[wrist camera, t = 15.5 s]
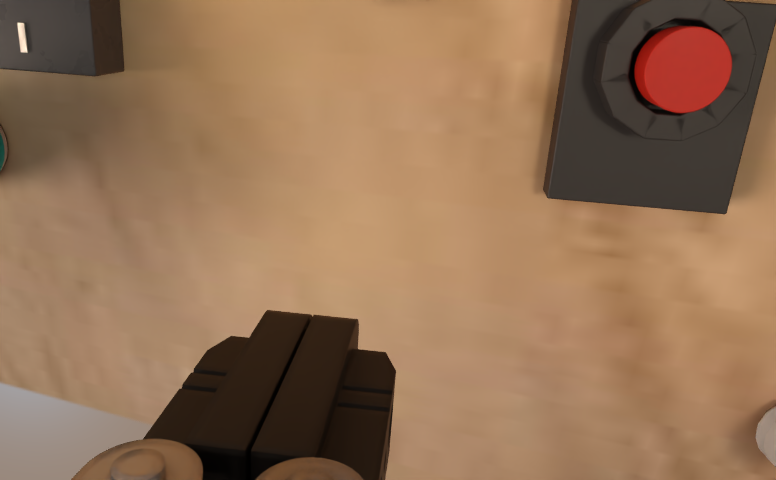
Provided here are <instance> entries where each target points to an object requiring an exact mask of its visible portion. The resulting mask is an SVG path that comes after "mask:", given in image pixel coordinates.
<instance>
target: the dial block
mask: <svg viewBox="0 0 776 480" xmlns="http://www.w3.org/2000/svg"><path fill="white" fill-rule="evenodd" d="M0 69H11V70H24V71H36V72H48V73H61V74H73V75H85V76H100V75H105V74H111V73H116V72H122V71H124V61H123V47H122V32H121V18H120V4H119V0H0Z"/></svg>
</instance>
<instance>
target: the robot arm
mask: <svg viewBox="0 0 776 480" xmlns="http://www.w3.org/2000/svg"><path fill="white" fill-rule="evenodd" d="M358 334H359V323H358V319H349V318H340V317H330V316H321V315H314V316H313V317H312V315H310V314H300V313H290V312H281V311H271V310H267V311H266V312H265V314H264V315H263V317H262V318H261V320H260V322H259V323H258V325H257V326H256V328H255V330H254V331H253V333H252V334H251V336H250V338H245V337H236V336H230V337H229V338H227V339H226V340H224V341H222V342H221V343H219V344H217V345H216V346H214V347H212V348H211V349H209V350H207V352H206V353H205V354H204V356H203V357H202V359H201V360H200V361H199V363H198V364H197V365H196V367H195V368H194V372H193V373H191V374H190V375H189V376H188V378H187V379H186V381H185V382H184V383H183V386H182V389H179V390H178V392H177V393H176V394H175V396H174V397H173V398H172V400H171V401H170V403H169V404H168V405H167V407H166V408H165V410H164V411H163V412H162V414H161V415H160V416H159V418H158V419H157V421H156V422H155V423H154V425H153V426H152V427H151V429H150V430H149V432H148V433H147V434H146V436H145V437H144V439H143V440H136V441H132V442H127V443H124V444H121V445H118V446H115V447H113V448H110V449H108V450H106V451H104V452H102V453H100V454H99V455H97V456H96V457H94V458H93V459H92V460H90V461H89V462H88V463H87V464H86V465H85V466H84V467H83V468H82V469H81V470H80V471H79V472H78V473H77V474H76V475H75V476H74V477H73V478H72V479H71V480H385V476H386V470H387V463H388V456H389V448H390V436H391V424H392V412H393V399H394V387H395V375H396V370H395V368H394V367H393V365H392V363H391V361H390V359H389V358H388V356H387V354H386V352H378V351H368V350H359V349H358Z"/></svg>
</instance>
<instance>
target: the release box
mask: <svg viewBox="0 0 776 480" xmlns="http://www.w3.org/2000/svg"><path fill="white" fill-rule="evenodd" d="M775 23H776V4H765V3H750V2H735V1H726V0H572V5H571V11H570V18H569V24H568V31H567V37H566V44H565V50H564V57H563V63H562V70H561V76H560V83H559V89H558V96H557V102H556V109H555V115H554V122H553V128H552V135H551V141H550V148H549V154H548V160H547V167H546V173H545V180H544V186H543V190H544V192H545V194H546V196H547V198H550V199H562V200H573V201H584V202H595V203H606V204H617V205H628V206H640V207H651V208H662V209H673V210H684V211H695V212H706V213H718V214H726V213H727V209H728V205H729V201H730V197H731V194H732V190H733V186H734V182H735V178H736V174H737V170H738V166H739V163H740V159H741V155H742V151H743V147H744V143H745V139H746V135H747V131H748V128H749V124H750V120H751V116H752V112H753V108H754V104H755V100H756V96H757V93H758V89H759V85H760V81H761V77H762V73H763V69H764V65H765V62H766V58H767V54H768V50H769V46H770V42H771V38H772V34H773V30H774V27H775ZM673 26H696V27H704V28H707V29H710V30H712V31H714V32H715V33H717V34H718V35H720V36H721V37H722V38H723V40H724V41H725V42H726V44H727V45H728V47H729V50H730V52H731V57H732V71H731V75H730V79H729V81H728V83H727V85H726V87H725V89H724V90H723V92H722V93H721V94H720V95H719V97H718V98H717V99H716V100H714V101H713V102H712V103H711V104H709V105H708V106H706V107H704V108H702V109H700V110H697V111H694V112H689V113H675V112H671V111H667V110H665V109H663V108H661V107H658V106H656V105H654V104H652V103H650V102H649V101H647V100H646V99H645V98H644V97H643V96H642V95H641V93H640V92H639V90H638V88H637V86H636V82H635V77H634V68H635V62H636V59H637V56H638V54H639V52H640V50H641V48H642V47H643V46H644V44H645V43H646V42H647V41H648V40H649V39H650V38H651V37H652V36H653V35H655V34H656V33H658V32H660V31H662V30H664V29H666V28H669V27H673Z"/></svg>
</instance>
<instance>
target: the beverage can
mask: <svg viewBox="0 0 776 480" xmlns="http://www.w3.org/2000/svg"><path fill="white" fill-rule="evenodd" d="M7 151H8V149H7V141H6V137H5V134H4V132H3V130H2V128H1V126H0V171H1V169H2V168H3V166H4V164H5V162H6V158H7Z"/></svg>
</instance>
